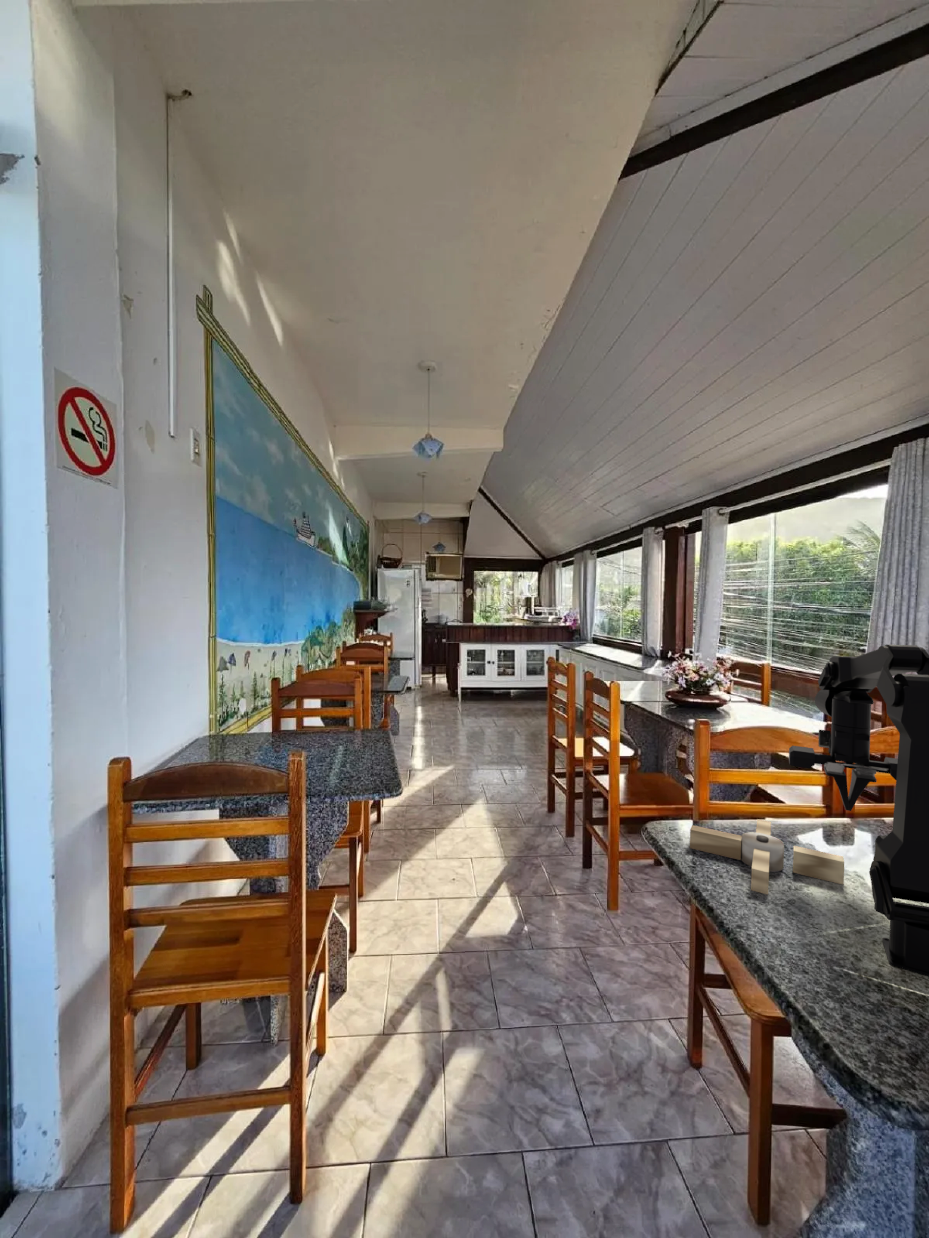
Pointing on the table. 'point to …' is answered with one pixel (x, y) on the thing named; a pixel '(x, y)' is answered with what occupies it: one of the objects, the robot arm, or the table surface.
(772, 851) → the stool base
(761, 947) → the table surface
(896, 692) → the robot arm
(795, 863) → the folding leg
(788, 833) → the table surface
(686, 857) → the table surface
